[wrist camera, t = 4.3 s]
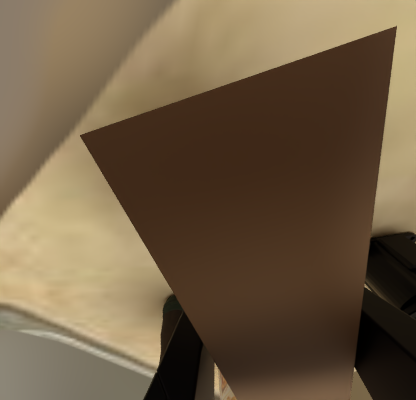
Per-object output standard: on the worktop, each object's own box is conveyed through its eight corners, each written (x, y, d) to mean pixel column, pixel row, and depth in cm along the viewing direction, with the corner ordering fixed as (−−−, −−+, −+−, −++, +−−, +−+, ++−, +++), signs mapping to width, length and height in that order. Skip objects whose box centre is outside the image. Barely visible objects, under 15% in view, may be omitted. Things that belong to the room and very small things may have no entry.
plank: (304, 327, 12) (347, 421, 9) (241, 340, 13) (258, 435, 9) (274, 69, 6) (396, 26, 2) (147, 112, 6) (79, 135, 3)
